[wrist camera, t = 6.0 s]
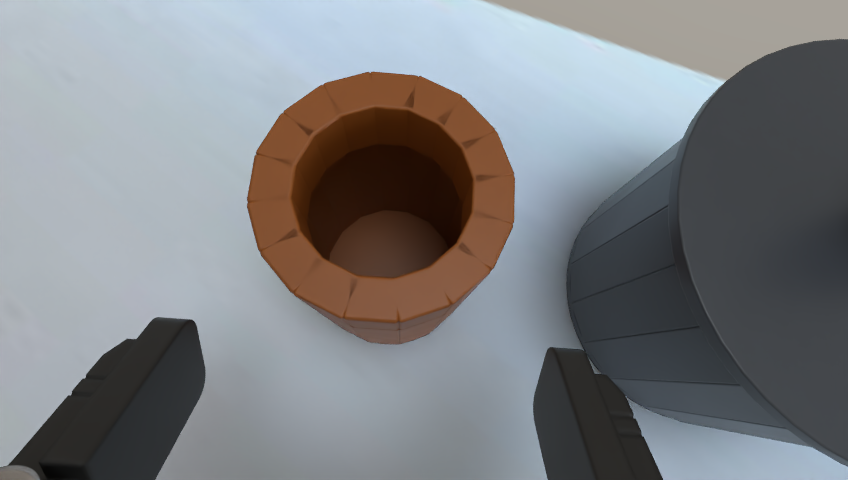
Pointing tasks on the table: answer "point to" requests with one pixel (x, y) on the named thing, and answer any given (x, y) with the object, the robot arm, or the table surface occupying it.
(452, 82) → the table surface
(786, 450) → the table surface
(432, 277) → the jar
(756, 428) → the tin
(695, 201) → the tin lid
